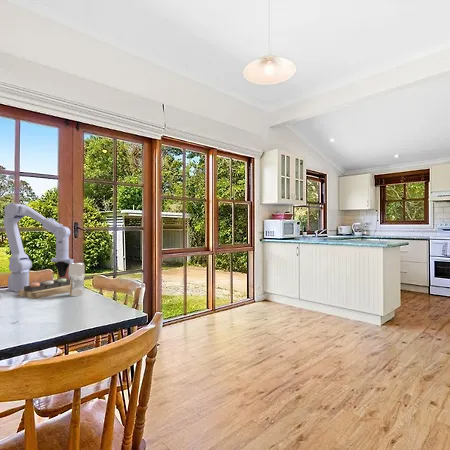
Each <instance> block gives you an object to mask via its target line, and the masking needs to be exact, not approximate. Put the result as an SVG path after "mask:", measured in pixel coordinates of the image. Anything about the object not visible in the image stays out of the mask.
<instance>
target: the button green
mask: <svg viewBox="0 0 450 450" xmlns="http://www.w3.org/2000/svg"><path fill="white" fill-rule="evenodd" d="M66 280H67V278H57V281H58V282H66Z"/></svg>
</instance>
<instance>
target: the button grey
mask: <svg viewBox="0 0 450 450" xmlns="http://www.w3.org/2000/svg"><path fill="white" fill-rule="evenodd" d="M43 282H44V284H45V285H49V284H54V280H45V281H43Z"/></svg>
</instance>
